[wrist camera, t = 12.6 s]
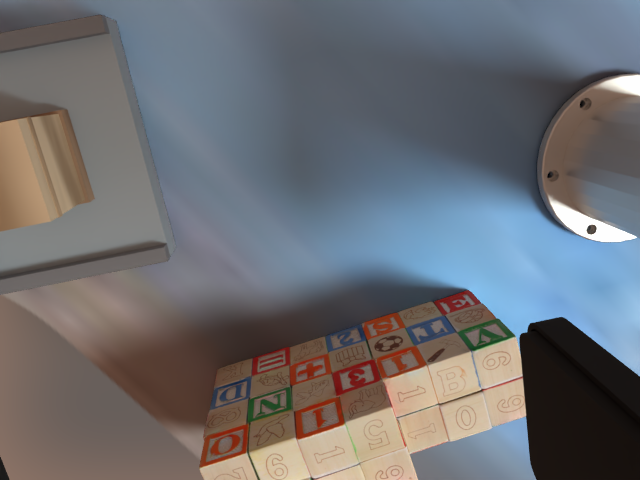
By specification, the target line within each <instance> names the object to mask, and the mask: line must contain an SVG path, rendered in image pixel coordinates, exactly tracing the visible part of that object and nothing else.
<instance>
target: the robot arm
mask: <svg viewBox="0 0 640 480" xmlns="http://www.w3.org/2000/svg"><path fill="white" fill-rule="evenodd" d="M580 102H582V105H581V106H580ZM549 172H550V175H549V177H547V176H548V173H549ZM537 180H538V185H539V189H540V194H541V196H542V199H543V201H544V203H545V205H546V207H547V209H548V210H549V212H550V213H551V214H552V216H553V217H554V218H555V220H557V221H558V222H559V223H560V224H561V225H562V226H563V227H565V228H566V229H568V230H570V231H571V232H573V233H575V234H577V235H579V236H581V237H584V238H586V239H589V240H593V241H599V242H622V241H627V240H631V239H635V238H637V237H638V238H640V74H621V75H616V76H610V77H606V78H603V79H601V80H598V81H596V82H593V83H591V84H589V85H588V86H586V87H585V88H583V89H581V90H580V91H578V92H577V93H576V94H574V95H573V96H572V97H571V98H570V99H569V100H568V101H567V102H566V103H564V104H563V106H562V107H561V108H560V110H559V111H558V112H557V113H556V115H555V116H554V117H553V119H552V121H551V122H550V124H549V126H548V128H547V130H546V132H545V134H544V137H543V140H542V143H541V146H540V149H539V155H538V161H537ZM586 228H587V229H586ZM520 353H521V364H522V375H523V386H524V397H525V408H526V419H527V430H528V441H529V453H530V461H531V466H532V469H533V472H534V475H535V477H536V479H537V480H640V377H639V376H638V375H637V374H636V373H634V372H633V371H632V370H631V369H629V368H628V367H627V366H625V365H624V364H623V363H622V362H620V361H619V360H618V359H617V358H615V357H614V356H613V355H611V354H610V353H609V352H608V351H606V350H605V349H604V348H602V347H601V346H600V345H599V344H597V343H596V342H595V341H594V340H592V339H591V338H590V337H588V336H587V335H586V334H585V333H583V332H582V331H581V330H579V329H578V328H577V327H576V326H574V325H573V324H572V323H571V322H569V321H568V320H567V319H565V318H563V317H559V318H554V319H549V320H544V321H540V322H535V323H530V325H529V326H528V332H527V333H522V334H521V335H520ZM0 480H9V477H8V475H7V472H6V470H5V467H4V465H3V462H2V460H1V457H0Z"/></svg>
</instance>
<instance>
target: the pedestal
mask: <svg viewBox="0 0 640 480" xmlns="http://www.w3.org/2000/svg"><path fill="white" fill-rule="evenodd" d="M94 199H95V198H94V194H93V191H92V188H91V185H90V181H89V178H88V175H87V172H86V168H85V165H84V162H83V158H82V155H81V152H80V149H79V145H78V142H77V139H76V136H75V132H74V129H73V126H72V123H71V119H70V116H69V113H68V110H67V109H65V110H58V111H53V112H48V113H43V114H37V115H32V116H27V117H22V118H17V119H12V120H6V121H1V122H0V232H1V231H6V230H11V229H16V228H21V227H26V226H31V225H36V224H41V223H46V222H51V221H53V220H54V219H56V218H59V217H61V216H63V214H64V213H65V212H67V211H69V210H70V209H72V208H73V207H75V206H77V205H79V204H84V203H89V202H91V201H92V200H94Z"/></svg>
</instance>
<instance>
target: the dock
mask: <svg viewBox="0 0 640 480" xmlns="http://www.w3.org/2000/svg"><path fill="white" fill-rule="evenodd" d="M65 109H67V110H68V113H69V116H70V119H71V123H72V126H73V129H74V132H75V136H76V139H77V142H78V145H79V149H80V152H81V155H82V158H83V162H84V165H85V168H86V172H87V175H88V178H89V181H90V185H91V188H92V191H93V194H94V198H95V199H94V200H92V201H91V202H89V203H84V204H79V205H77V206H75V207H73V208H72V209H70V210H69V211H67V212H65V213H64V214H63V216H61V217H59V218H56V219H54V220H53V221H51V222H46V223H41V224H36V225H31V226H26V227H21V228H16V229H11V230H6V231H1V232H0V295H1V294H6V293H11V292H16V291H21V290H26V289H31V288H36V287H41V286H46V285H51V284H56V283H61V282H66V281H71V280H76V279H81V278H86V277H91V276H96V275H101V274H106V273H111V272H116V271H121V270H126V269H131V268H136V267H141V266H146V265H151V264H156V263H161V262H166V261H168V260H169V259H170V257H171V255H172V253H173V252H174V250H175V248H176V244H175V241H174V237H173V233H172V229H171V226H170V222H169V218H168V214H167V211H166V207H165V203H164V199H163V196H162V192H161V188H160V184H159V181H158V177H157V173H156V169H155V166H154V162H153V158H152V154H151V151H150V147H149V143H148V139H147V136H146V132H145V128H144V124H143V121H142V117H141V113H140V109H139V105H138V102H137V98H136V94H135V90H134V87H133V83H132V79H131V75H130V72H129V68H128V64H127V60H126V57H125V53H124V49H123V45H122V42H121V38H120V34H119V30H118V27H117V23H116V21H115V20H112V19H110V18H108V17H105V16H103V15H96V16H90V17H85V18H79V19H74V20H69V21H63V22H58V23H52V24H47V25H41V26H36V27H30V28H25V29H19V30H14V31H9V32H3V33H0V122H1V121H6V120H12V119H17V118H22V117H27V116H32V115H37V114H43V113H48V112H53V111H58V110H65Z"/></svg>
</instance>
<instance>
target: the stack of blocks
mask: <svg viewBox="0 0 640 480" xmlns="http://www.w3.org/2000/svg"><path fill="white" fill-rule="evenodd" d="M525 416H526V408H525V397H524V386H523V375H522V364H521V355H520V352H519V347H518V342H517V339H516V336H515V335H514V334H513V333H512V332H511V331H510V330H509V329H508V328H507V327H506V326H505V325H504V324H503V323H502V322H501V321H500V320H499V319H496V317H495V316H494V315H493V314H492V313H491V312H490V311H489V310H488V309H487V307H486V306H485V305H484V304H481V302H480V301H479V300H478V299H477V298H476V297H475V296H474V294H473V293H472V292H471V291H469V290H467V291H464V292H461V293H458V294H455V295H452V296H449V297H446V298H443V299H440V300H437V301H435V302H427V303H424V304H421V305H418V306H415V307H412V308H408V309H405V310H402V311H400V312H398V313H393V314H389V315H386V316H383V317H380V318H376V319H373V320H370V321H367V322H364V323H362V324H361V325H357V326H354V327H351V328H348V329H345V330H342V331H339V332H335V333H332V334H329V335H327V336H325V337H320V338H317V339H314V340H311V341H308V342H305V343H302V344H299V345H296V346H293V347H287V348H283V349H280V350H277V351H274V352H271V353H268V354H264V355H261V356H258V357H255V358H252V359H248V360H244V361H241V362H238V363H235V364H232V365H228V366H225V367H222V368H219V369H218V370H217V374H216V380H215V384H214V392H213V397H212V402H211V406H210V412H209V413H208V417H207V420H206V425H205V430H204V436H203V438H204V441H205V442H204V446H203V451H202V456H201V461H200V466H199V469H200V472H201V474H202V476H203V478H204V480H418V478H417V475H416V472H415V469H414V466H413V463H412V460H411V457H410V454H412V453H415V452H418V451H421V450H424V449H427V448H430V447H433V446H436V445H439V444H443V443H446V442H448V441H450V442H451V441H455V440H458V439H461V438H464V437H467V436H470V435H473V434H476V433H480V432H483V431H486V430H489V429H491V428H492V427H493V426H498V425H501V424H504V423H507V422H510V421H513V420H517V419H519V418H522V417H525Z"/></svg>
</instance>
